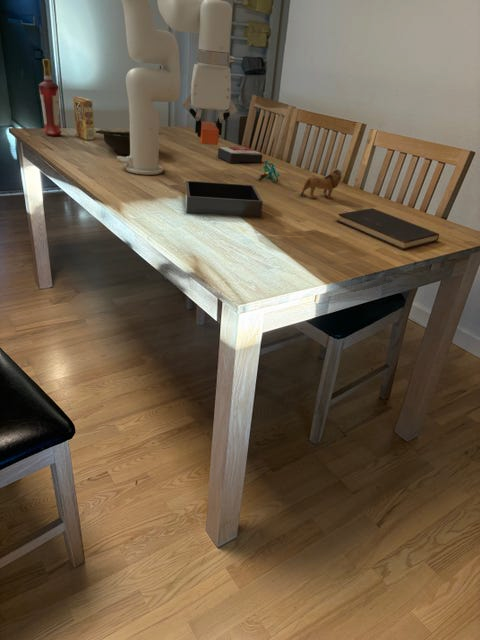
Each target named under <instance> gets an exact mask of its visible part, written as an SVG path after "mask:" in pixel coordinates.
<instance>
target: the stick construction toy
mask: <svg viewBox="0 0 480 640" xmlns="http://www.w3.org/2000/svg"><path fill="white" fill-rule="evenodd" d="M262 168H263V170H264V171H263V173H261V175H260V177H259V178H258V181H259V182H260V181H262V180H263V179H264V178H266V177H268V178H269V179H270V180H272V179H273V180H274V182H275V183H276V182H279V178H278V177H280V176H281V175H280V173H278V172H277V170H276V168H275V167H274V163H273V162H271V163H270V162H269V161H268V159H266V160H265V161H264V166H263V167H262Z"/></svg>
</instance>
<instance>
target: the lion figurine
mask: <svg viewBox="0 0 480 640" xmlns="http://www.w3.org/2000/svg"><path fill="white" fill-rule="evenodd" d="M342 177H343V176H342V171H341V170H340V169H338V168H334V169H331V170H330V172H329V173H328V174H327V175H326V176H324V177H319V176H316V175H311V176H308V178H307V179H306V181H305V183H304V185H303V188H302V190H301V193H300V194H299V196H300V197H302V196H304V197H305V196H306V193H305V191H307V190H309V189H310V191H309V194H310V197H311V198H312V199H316V198H317V197H316V196H315V195H314V192H315V190H316V189H320V190H323V193H322V197H327V198H328V199H331V200H332V198H333V197H332V196H331V195H332V193H333V189H336V188H337V187H338V186H339V184H340V182H341V180H342ZM327 190H328V191H327ZM327 192H328V193H327Z"/></svg>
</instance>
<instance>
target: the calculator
mask: <svg viewBox="0 0 480 640" xmlns="http://www.w3.org/2000/svg"><path fill="white" fill-rule="evenodd" d="M217 150H218V151H217V158H219V159H221V160H223V161H225V162H228V163H230V164H239V163H260V164H261V163H262V162H263V154H262V153H261V152H259V151H256V150H254V149H252V148H249V147H233V146H229V147H226V146H222V147H221V146H220V147H218V149H217Z"/></svg>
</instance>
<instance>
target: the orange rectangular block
mask: <svg viewBox="0 0 480 640" xmlns="http://www.w3.org/2000/svg"><path fill="white" fill-rule="evenodd" d="M201 122H202V124H201V137H198V138H199V140H200V143H201V145H211V146H218V145H219V139H218V137H219V138H220V135H219V130H218V128H217V127H216V122H212V121H202V120H201Z"/></svg>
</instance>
